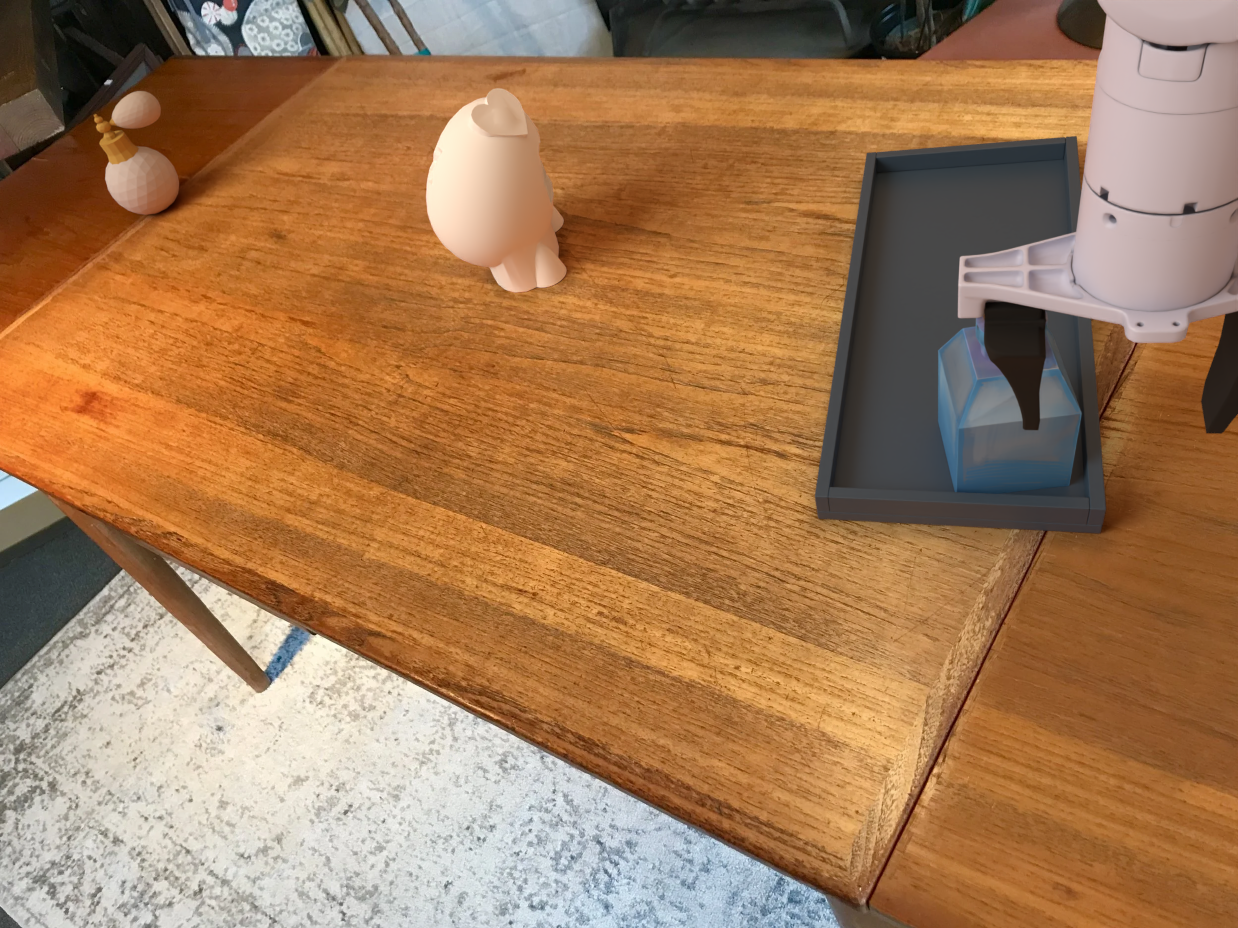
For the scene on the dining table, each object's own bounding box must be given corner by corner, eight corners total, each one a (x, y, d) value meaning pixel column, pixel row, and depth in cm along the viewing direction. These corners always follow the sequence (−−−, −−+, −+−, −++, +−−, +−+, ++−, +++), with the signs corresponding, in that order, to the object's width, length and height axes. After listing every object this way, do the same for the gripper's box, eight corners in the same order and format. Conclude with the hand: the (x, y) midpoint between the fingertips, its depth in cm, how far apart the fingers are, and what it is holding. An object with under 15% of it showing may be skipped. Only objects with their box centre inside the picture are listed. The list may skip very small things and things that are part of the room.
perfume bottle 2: (1042, 407, 58) (1062, 252, 49) (1069, 485, 54) (1095, 331, 45) (938, 421, 59) (938, 271, 50) (956, 498, 55) (960, 350, 46)
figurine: (456, 315, 80) (380, 163, 69) (459, 239, 88) (391, 92, 77) (581, 281, 79) (523, 121, 68) (573, 207, 86) (520, 52, 75)
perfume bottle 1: (119, 218, 109) (48, 126, 100) (185, 171, 113) (121, 78, 104) (151, 231, 105) (79, 136, 96) (217, 182, 109) (154, 86, 100)
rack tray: (1073, 161, 73) (1076, 135, 71) (1100, 534, 52) (1106, 509, 50) (868, 176, 78) (866, 152, 77) (817, 519, 57) (814, 496, 56)
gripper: (957, 247, 35) (953, 476, 45) (1444, 224, 30) (1317, 488, 39) (963, 139, 39) (958, 370, 49) (1391, 103, 34) (1288, 369, 44)
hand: (1118, 416), depth 44 cm, fingers open, 7 cm apart
